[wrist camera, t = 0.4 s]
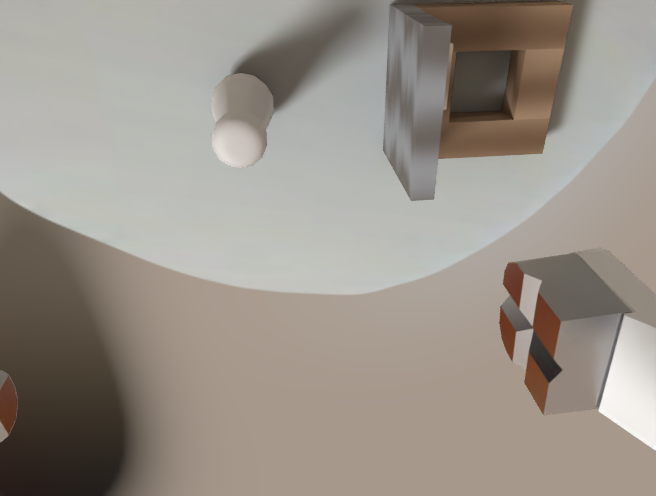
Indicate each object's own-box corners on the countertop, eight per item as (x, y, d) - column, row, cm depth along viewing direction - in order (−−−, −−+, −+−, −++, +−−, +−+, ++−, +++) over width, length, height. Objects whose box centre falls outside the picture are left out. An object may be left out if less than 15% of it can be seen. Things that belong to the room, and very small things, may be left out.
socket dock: (390, 4, 49) (424, 26, 39) (557, 0, 51) (633, 20, 40) (383, 150, 56) (411, 200, 46) (529, 143, 58) (588, 190, 48)
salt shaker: (278, 74, 51) (283, 115, 40) (268, 131, 54) (271, 185, 43) (215, 62, 50) (204, 101, 39) (209, 121, 53) (196, 174, 42)
